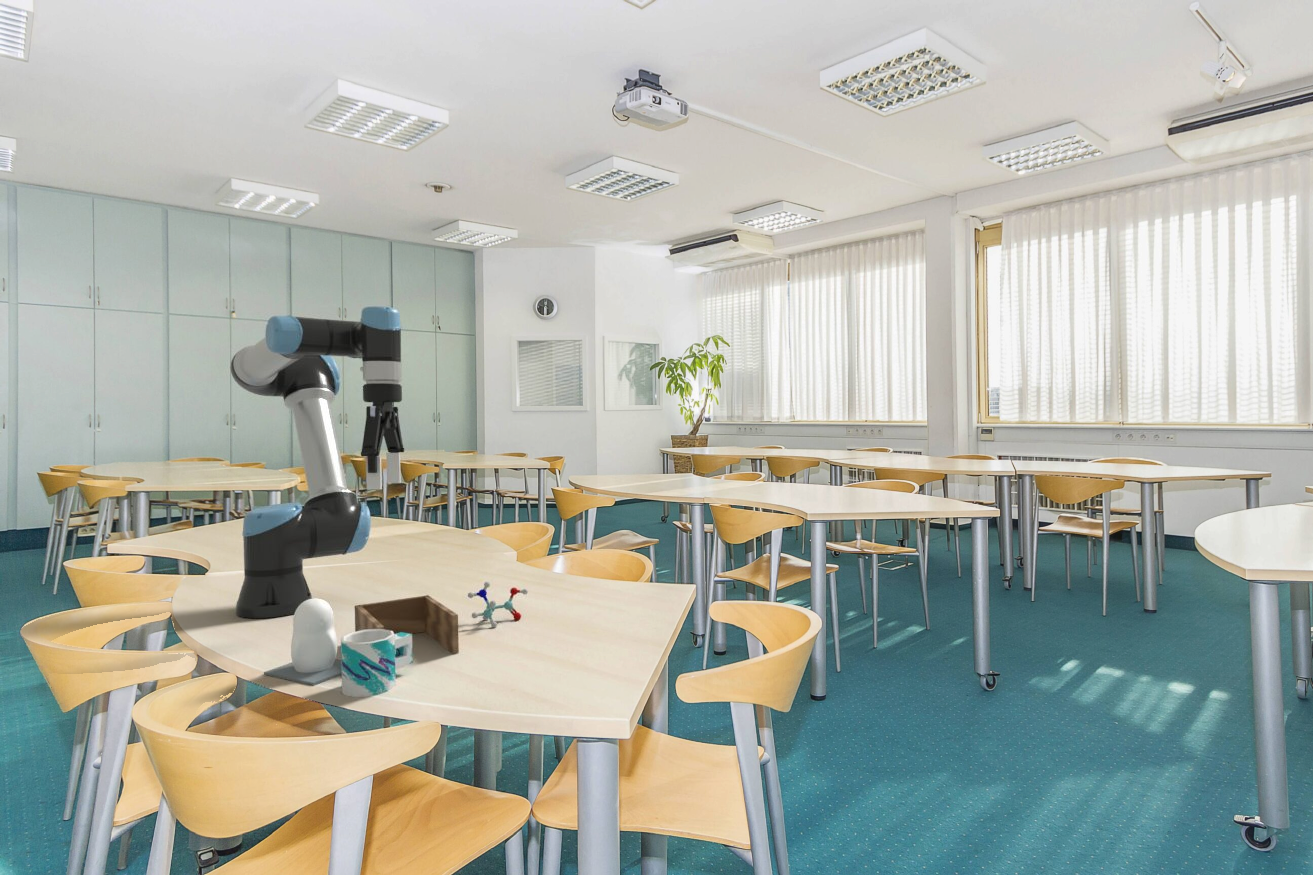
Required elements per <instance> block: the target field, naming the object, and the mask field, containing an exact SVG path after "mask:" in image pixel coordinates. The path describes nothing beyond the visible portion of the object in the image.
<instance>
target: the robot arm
mask: <svg viewBox="0 0 1313 875" xmlns="http://www.w3.org/2000/svg"><path fill="white" fill-rule="evenodd" d="M360 315H361V316H360V321H354V320H352V321H351V320H341V319H340V320H339V319H326V318H325V319H324V318H323V319H322V318H313V317H305V316H304V317H301V316H293V315H273V316H271V317H269V319H268V320H267V324H266V327H265V337H263V338H262V339H260V341H258V342H257V343H255V344H254V345H248V346H245V347H243V348H241V349H240V350H238V352H236V353H235V354H234V355H233V357H232V359H231V361H230V374H231V376H232V378H233V379H234V381H235V382H236V383H237V384H238V385H239V386H240V387H241V388H242V389H244V390H246V391H248V392H249V393H252V394H254V395H259V396H263V397H283V402H284V405H285V407H286V408H287V409H290V410H291V411H292V412H293V413H292V414H293V419H294V423H295V428H296V434H297V439H298V444H299V450H300V455H301V458H302V463H303V464H302V465H303V469H304V475H305V479H306V485H307V489H308V490H307V491H308V496H309V497H308V498H307V499H306V500H305V502H304V504H303V506H302V505H301V503H300V502H285V503H275V504H270V505H265V506H262V507H258V508H255V509H252V510H250V511H249V512H247V513H246V514H245V516H244V517H243V525H242V533H241V534H242V537H243V539H242V540H243V567H244V568H243V569H244V570H243V571H244V579H243V582H242V586H241V589H240V593H239V595H238V598H237V601H236V603H235V610H236V611H235V612H236V613H235V614H236V616H238V617H241V618H246V619H266V618H268V619H269V618H278V617H283V616H289V615H294V614H295V611H296V609H297V608H298V606H299V605H300V604H301V603H303V602H304V601H306V600H309V599H313V596H312V593H311V590H310V588H309V586H308V583H307V580H306V578H305V577H306V576H305V575H304V569H303V568H304V567H303V565H304V564H303V563H304V562H303V560H308V559H314V558H316V559H318V558H323V557H331V556H338V555H339V556H340V555H343V556H344V555H347V554H350V553H351V554H352V553H357V552H360V551H361V550H363V549H364V548H365V546H366V545H367V543H368V540H369V537H370V534H371V533H370V532H371V522H372V521H371V512H370V511H371V510H370V508H369V506H368V504H366V503H364V502H358V499H357V494H356V493H355V492H353V491H352V490H351V489H348V484H347V480H346V474H345V470H344V466H343V464H344V463H343V460H342V455H341V452H340V446H339V441H338V436H337V433H336V432H337V431H336V428H335V423H334V418H333V417H334V416H333V413H332V408H331V405H332V403H333V402H334V401H335V398H336V396H337V395H338V393H339V391H340V388H341V387H340V386H341V382H340V378H341V376H340V370H339V368H338V365H337V362H336V361H335V359H334V357H347V358H351V359H361V361H362V366H360V372H361V373H362V381H364V382H365V384H363V385H362V400H363V402H364V403H372V405H369V406H366V408H365V410H366V416H365V418H366V419H365V424H364V431H363V439H362V446H361V451H360V457H365V469H366V470H365V471H366V472H365V474H366V476H365V477H366V480H365V481H366V490H367V491H368V490H369V491H370V490H375V491H377V490H383V483H382V482H383V480H382V479H383V478H382V475H383V474H382V456H380V453H381V449H382V448H381V447H382V444H383V439H384V441H385V445H386V448H387V452H386V453H385V454H386V484H402V483H401V453H405V448H404V444H403V439H402V438H403V437H402V432H401V424H400V417H399V408H398V406H394V404H393V403H400V402H402V400H403V390H402V388H403V386H402V385H401V384H400V383H401V382H402V381H403V378H402V343H401V342H402V335H401V334H402V332H401V331H402V325H401V315H400V311H399V310H398V309H396V308H394V307H390V306H366V307H363V308H362V310H361V314H360ZM303 507H304V508H303Z"/></svg>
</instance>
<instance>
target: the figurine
mask: <svg viewBox="0 0 1313 875" xmlns="http://www.w3.org/2000/svg"><path fill="white" fill-rule="evenodd" d="M334 619H335V617H334V612H333V609H332V607H331V605H330V603H328V602H327V601H326V600H324V599H321V598H316V597H315V598H312V599H309V600H306V601H304V602H303V603H301V604H300V605H299V606H298V608H297V609H296V611H295V614H293V620H292V622H293V624H292V626H293V629H292V630H293V632H292V636H291V637H292V638H291V642H290V643H291V644H290V656H291V657H290V658H291V663H292V662H293V665H294V668H295V670H296V671H297V672H302V673H311V672H318V671H322V670H326V669H328V668H330V667H332V666H333V664H334V661H335V659H337V654H338V640H337V633H336V630H335V625H334V624H335V622H334Z"/></svg>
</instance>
